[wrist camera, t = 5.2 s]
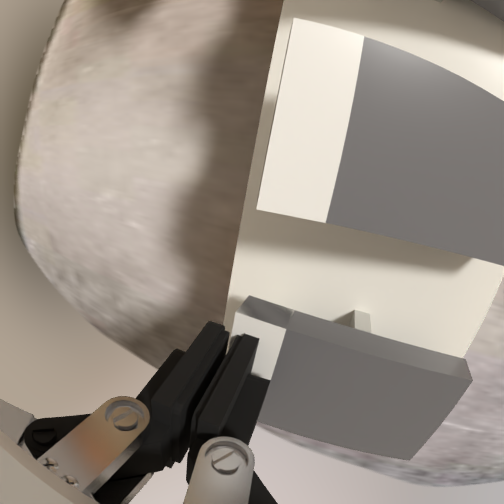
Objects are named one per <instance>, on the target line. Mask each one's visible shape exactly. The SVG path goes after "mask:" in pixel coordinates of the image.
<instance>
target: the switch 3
mask: <svg viewBox="0 0 504 504" xmlns="http://www.w3.org/2000/svg"><path fill="white" fill-rule="evenodd" d="M471 1H472V2H474V3H476V4H477V5H479V6H481V7H482V8H484V9H485V10H487V11H488V12H490V13H492V14H493V15H495V16H496V17H497V18H499V19H500V20H502V21H503V22H504V0H471Z"/></svg>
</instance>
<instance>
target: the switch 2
mask: <svg viewBox="0 0 504 504" xmlns="http://www.w3.org/2000/svg"><path fill="white" fill-rule="evenodd" d="M244 333H245V334H248V335H251V336H254V337H257V338H260V339H259V343H258V347H257V351H256V355H255V359H254V363H253V367H252V371H251V375H255V376H258V377H261V378H265V379H268V380H271V381H270V384H269V387H268V390H267V393H266V397H265V400H264V403H263V406H262V408H261V411H260V414H259V417H258V420H257V421H258V422H261V423H264V424H267V425H270V426H273V427H276V428H279V429H282V430H285V431H288V432H291V433H294V434H297V435H301V436H304V437H307V438H311V439H314V440H318V441H321V442H325V443H329V444H333V445H336V446H340V447H344V448H349V449H353V450H357V451H362V452H366V453H371V454H376V455H381V456H386V457H391V458H397V459H403V460H410V459H411V458H412V457H413V456H414V455H415V454H416V453H417V452H418V451H419V449H420V448H421V447H422V446H423V445H424V444H425V443H426V441H427V440H428V439H429V438H430V437H431V436H432V434H433V433H434V432H435V431H436V430H437V428H438V427H439V426H440V425H441V423H442V422H443V421H444V420H445V418H446V417H447V416H448V414H449V413H450V412H451V410H452V409H453V408H454V406H455V405H456V404H457V402H458V401H459V399H460V398H461V397H462V395H463V394H464V392H465V391H466V390H467V388H468V387H469V385H470V384H471V382H472V381H473V380H472V377H471V374H470V371H469V368H468V365H467V362H466V359H463V358H459V357H456V356H452V355H448V354H444V353H440V352H436V351H433V350H429V349H425V348H421V347H418V346H414V345H410V344H407V343H403V342H400V341H396V340H393V339H389V338H385V337H382V336H379V335H375V334H372V333H368V332H365V331H361V330H358V329H355V328H351V327H348V326H345V325H341V324H338V323H335V322H331V321H328V320H325V319H322V318H318V317H315V316H312V315H309V314H306V313H302V312H299V311H296V310H294V309H291V308H288V307H285V306H281V305H278V304H275V303H272V302H269V301H266V300H263V299H260V298H257V297H254V296H251V295H249V296H248V297H247V298H246V300H245V301H244V302H243V303H242V305H241V306H240V307H239V308H238V310H237V311H236V312H235V318H234V323H233V328H232V334H231V339H230V344H229V349H230V347H231V345H232V344H233V342H234V340H235V338H236V336H237V335H240V336H243V335H244ZM228 351H229V350H228Z"/></svg>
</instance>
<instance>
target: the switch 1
mask: <svg viewBox="0 0 504 504" xmlns="http://www.w3.org/2000/svg"><path fill="white" fill-rule="evenodd" d="M256 209H257V210H262V211H267V212H273V213H278V214H283V215H288V216H293V217H298V218H303V219H308V220H313V221H318V222H323V223H328V224H333V225H338V226H342V227H347V228H352V229H356V230H361V231H365V232H370V233H374V234H379V235H383V236H387V237H392V238H396V239H400V240H404V241H409V242H413V243H417V244H421V245H425V246H429V247H433V248H437V249H441V250H445V251H449V252H453V253H457V254H461V255H465V256H468V257H472V258H476V259H480V260H483V261H487V262H491V263H494V264H498V265H502V266H504V101H503V100H501V99H499V98H498V97H496V96H494V95H493V94H491V93H489V92H488V91H486V90H484V89H483V88H481V87H479V86H477V85H476V84H474V83H472V82H470V81H468V80H466V79H465V78H463V77H461V76H459V75H457V74H455V73H453V72H451V71H449V70H447V69H445V68H443V67H441V66H438V65H436V64H434V63H432V62H430V61H427V60H425V59H423V58H421V57H418V56H416V55H414V54H411V53H409V52H406V51H404V50H401V49H399V48H396V47H393V46H391V45H388V44H385V43H382V42H380V41H377V40H374V39H371V38H368V37H365V36H362V35H359V34H356V33H353V32H349V31H346V30H343V29H339V28H335V27H332V26H328V25H324V24H320V23H316V22H311V21H307V20H302V19H298V18H294V19H293V23H292V26H291V30H290V34H289V39H288V44H287V49H286V54H285V59H284V64H283V69H282V74H281V80H280V85H279V90H278V95H277V100H276V105H275V110H274V115H273V120H272V125H271V131H270V136H269V141H268V146H267V151H266V156H265V161H264V167H263V172H262V177H261V182H260V187H259V193H258V198H257V207H256Z"/></svg>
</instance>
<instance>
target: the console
mask: <svg viewBox="0 0 504 504" xmlns="http://www.w3.org/2000/svg"><path fill="white" fill-rule="evenodd" d="M294 18H298V19H302V20H307V21H311V22H316V23H320V24H324V25H328V26H332V27H335V28H339V29H343V30H346V31H349V32H353V33H356V34H359V35H362V36H365V37H368V38H371V39H374V40H377V41H380V42H382V43H385V44H388V45H391V46H393V47H396V48H399V49H401V50H404V51H406V52H409V53H411V54H414V55H416V56H418V57H421V58H423V59H425V60H427V61H430V62H432V63H434V64H436V65H438V66H441V67H443V68H445V69H447V70H449V71H451V72H453V73H455V74H457V75H459V76H461V77H463V78H465V79H466V80H468V81H470V82H472V83H474V84H476V85H477V86H479V87H481V88H483V89H484V90H486V91H488V92H489V93H491V94H493V95H494V96H496V97H498V98H499V99H501V100H503V101H504V22H503V21H502V20H500V19H499V18H497V17H496V16H495V15H493V14H492V13H490V12H488V11H487V10H485V9H484V8H482V7H481V6H479V5H477V4H476V3H474V2H472V1H471V0H284V1H283V6H282V11H281V16H280V21H279V25H278V30H277V35H276V40H275V45H274V50H273V55H272V60H271V65H270V70H269V75H268V80H267V85H266V90H265V95H264V100H263V105H262V111H261V116H260V121H259V126H258V131H257V137H256V142H255V147H254V153H253V158H252V163H251V169H250V174H249V179H248V185H247V190H246V196H245V201H244V207H243V212H242V218H241V224H240V229H239V235H238V240H237V246H236V252H235V257H234V263H233V269H232V275H231V281H230V286H229V292H228V298H227V304H226V310H225V316H224V322H223V325H224V326H225V331H228V332H230V334H229V340H228V346H227V351H226V354H227V353H228V350H229V344H230V339H231V334H232V328H233V323H234V318H235V312H236V311H237V310H238V308H239V307H240V306H241V305H242V303H243V302H244V301H245V300H246V298H247V297H248V296H249V295H251V296H254V297H257V298H260V299H263V300H266V301H269V302H272V303H275V304H278V305H281V306H285V307H288V308H291V309H294V310H296V311H299V312H302V313H306V314H309V315H312V316H315V317H318V318H322V319H325V320H328V321H331V322H335V323H338V324H341V325H345V326H348V327H351V328H355V329H358V330H361V331H365V332H368V333H372V334H375V335H379V336H382V337H385V338H389V339H393V340H396V341H400V342H403V343H407V344H410V345H414V346H418V347H421V348H425V349H429V350H433V351H436V352H440V353H444V354H448V355H452V356H456V357H459V358H463V357H464V355H465V353H466V352H467V350H468V348H469V346H470V344H471V343H472V341H473V339H474V337H475V335H476V333H477V332H478V330H479V328H480V326H481V324H482V322H483V320H484V318H485V316H486V314H487V312H488V310H489V308H490V306H491V303H492V301H493V299H494V297H495V295H496V292H497V290H498V288H499V286H500V283H501V281H502V278H503V276H504V266H502V265H498V264H494V263H491V262H487V261H483V260H480V259H476V258H472V257H468V256H465V255H461V254H457V253H453V252H449V251H445V250H441V249H437V248H433V247H429V246H425V245H421V244H417V243H413V242H409V241H404V240H400V239H396V238H392V237H387V236H383V235H379V234H374V233H370V232H365V231H361V230H356V229H352V228H347V227H342V226H338V225H333V224H328V223H323V222H318V221H313V220H308V219H303V218H298V217H293V216H288V215H283V214H278V213H273V212H267V211H262V210H257V209H256V207H257V198H258V193H259V187H260V182H261V177H262V172H263V167H264V161H265V156H266V151H267V146H268V141H269V136H270V131H271V125H272V120H273V115H274V110H275V105H276V100H277V95H278V90H279V85H280V80H281V74H282V69H283V64H284V59H285V54H286V49H287V44H288V39H289V34H290V30H291V26H292V23H293V19H294Z"/></svg>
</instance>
